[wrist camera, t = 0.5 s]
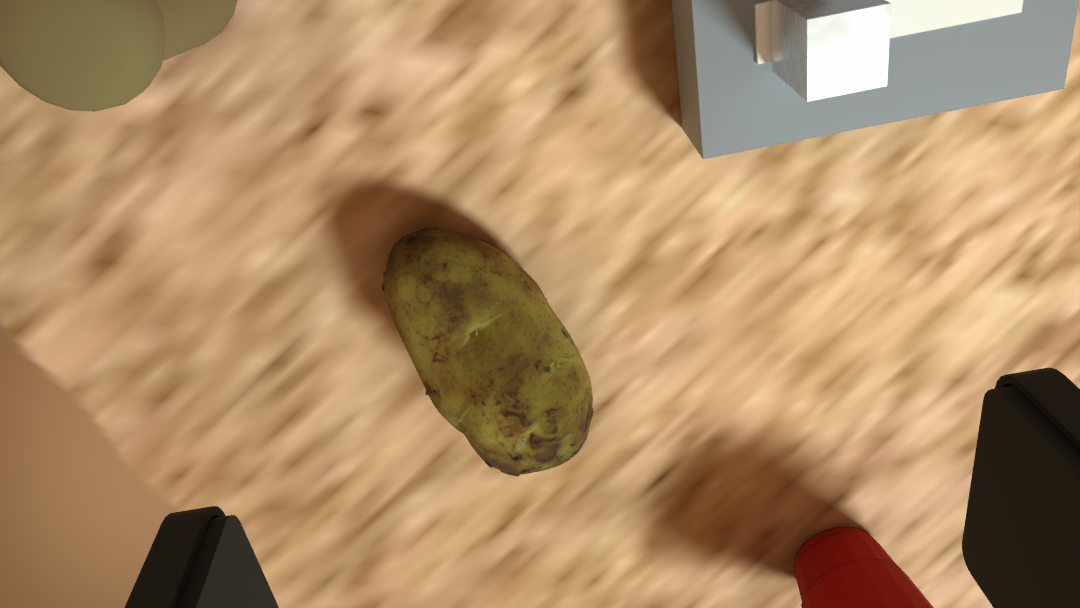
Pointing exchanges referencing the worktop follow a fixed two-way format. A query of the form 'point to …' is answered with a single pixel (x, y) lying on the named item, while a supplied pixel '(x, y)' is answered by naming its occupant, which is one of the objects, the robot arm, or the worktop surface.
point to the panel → (912, 89)
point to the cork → (100, 45)
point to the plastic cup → (852, 574)
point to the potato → (489, 350)
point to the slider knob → (830, 45)
